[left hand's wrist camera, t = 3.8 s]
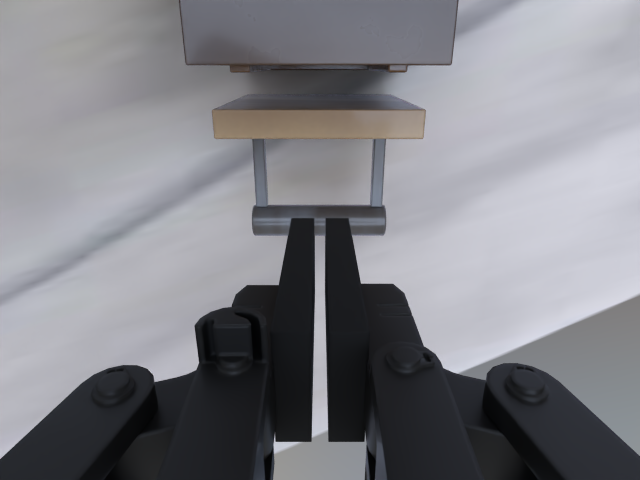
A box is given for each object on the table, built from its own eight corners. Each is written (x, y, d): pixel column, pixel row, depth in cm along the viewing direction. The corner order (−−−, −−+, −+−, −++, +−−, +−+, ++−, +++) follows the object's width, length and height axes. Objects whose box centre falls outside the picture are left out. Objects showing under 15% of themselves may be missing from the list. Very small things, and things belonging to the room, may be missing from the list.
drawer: (384, 206, 29) (412, 268, 21) (253, 207, 29) (225, 268, 21) (411, -251, 21) (478, -483, 12) (226, -251, 21) (157, -483, 12)
